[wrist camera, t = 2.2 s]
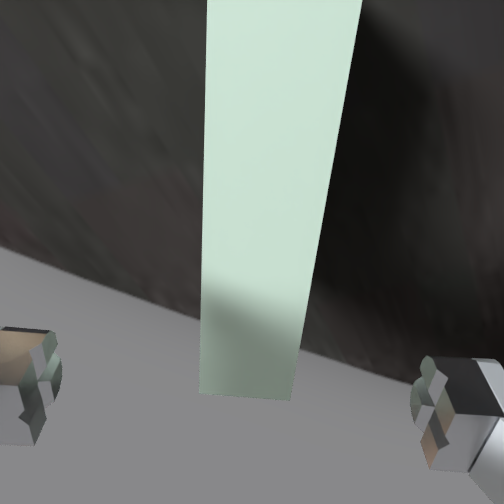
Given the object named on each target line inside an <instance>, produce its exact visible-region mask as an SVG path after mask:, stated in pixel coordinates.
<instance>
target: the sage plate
mask: <svg viewBox="0 0 504 504" xmlns="http://www.w3.org/2000/svg"><path fill="white" fill-rule="evenodd" d="M361 4H362V0H207V46H206V93H205V140H204V187H203V234H202V281H201V328H200V330H201V331H200V377H199V394H212V395H224V396H236V397H250V398H263V399H275V400H288V401H289V400H290V397H291V392H292V386H293V380H294V374H295V369H296V363H297V358H298V353H299V347H300V342H301V336H302V331H303V325H304V320H305V314H306V309H307V303H308V298H309V292H310V286H311V281H312V275H313V270H314V264H315V259H316V253H317V248H318V242H319V237H320V231H321V226H322V220H323V215H324V209H325V204H326V198H327V192H328V187H329V181H330V176H331V170H332V165H333V159H334V154H335V148H336V143H337V137H338V132H339V126H340V121H341V115H342V109H343V104H344V98H345V93H346V87H347V82H348V76H349V71H350V65H351V60H352V54H353V49H354V43H355V38H356V32H357V27H358V21H359V15H360V10H361Z"/></svg>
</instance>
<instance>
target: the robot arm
mask: <svg viewBox="0 0 504 504" xmlns="http://www.w3.org/2000/svg"><path fill="white" fill-rule="evenodd" d="M57 345H58V343H57V339H56V335H55V333H54V332H53V331H49V330H38V329H27V328H15V327H0V445H17V446H34V445H35V443H36V441H37V439H38V437H39V435H40V433H41V430H42V428H43V426H44V424H45V422H46V419H47V418H46V414H45V408H46V407H48V406H49V405H51V404H52V403H53V402H54V401H55V399H56V397H57V394H58V392H59V389H60V385H61V380H62V363H61V359H60V358H59V357H58V356H57V355H56V354H55V353H54V350H55V349H56V347H57ZM420 370H421V373H422V377H421V378H419V379H418V380H416V381H415V382H414V384H413V387H412V391H411V397H410V407H411V414H412V417H413V421H414V424H415V425H416V426H417V427H418V428H419V429H420V430H421V431H422V432H423V433H424V434H423V436H422V439H421V441H420V443H421V446H422V449H423V452H424V455H425V458H426V461H427V464H428V467H429V469H430V470H440V471H450V472H462V473H469V476H470V477H471V479H473V481H474V482H475V483H476V484H477V485H478V486H479V487H480V489H481V490H482V491H483V492H484V493H485V494H486V495H487V496H488V498H489V499H490V500H491V501H492V502H493V503H494V504H504V370H503V368H502V366H501V364H500V363H499V362H498V361H496V360H495V359H481V358H471V359H470V358H460V357H443V356H426V357H425V358H424V359H423V361H422V363H421V366H420Z"/></svg>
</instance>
